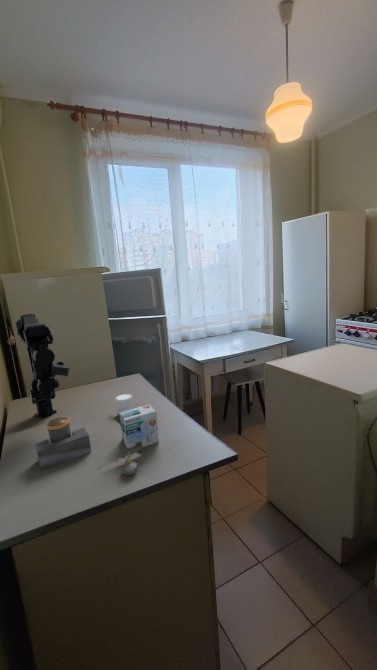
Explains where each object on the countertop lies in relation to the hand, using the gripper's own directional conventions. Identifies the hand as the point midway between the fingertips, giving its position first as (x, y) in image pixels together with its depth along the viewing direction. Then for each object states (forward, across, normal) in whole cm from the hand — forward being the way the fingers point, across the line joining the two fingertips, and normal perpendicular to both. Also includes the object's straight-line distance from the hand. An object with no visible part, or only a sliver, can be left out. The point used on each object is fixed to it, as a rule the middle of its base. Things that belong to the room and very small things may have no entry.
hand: (48, 401), depth 107 cm
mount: (+11, -18, 0) cm, 22 cm away
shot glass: (+11, -6, -26) cm, 29 cm away
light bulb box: (+11, -30, -22) cm, 38 cm away
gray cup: (+10, -20, 0) cm, 23 cm away
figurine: (+11, -42, -13) cm, 45 cm away
